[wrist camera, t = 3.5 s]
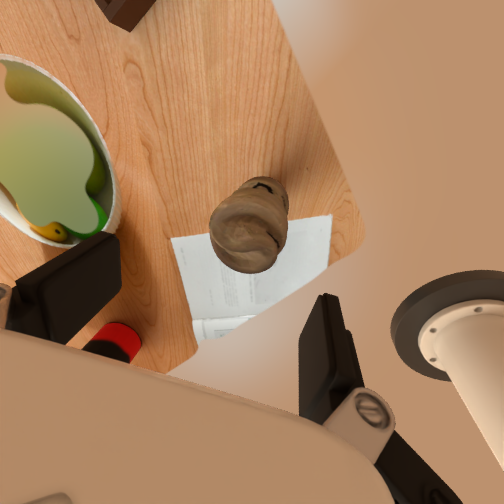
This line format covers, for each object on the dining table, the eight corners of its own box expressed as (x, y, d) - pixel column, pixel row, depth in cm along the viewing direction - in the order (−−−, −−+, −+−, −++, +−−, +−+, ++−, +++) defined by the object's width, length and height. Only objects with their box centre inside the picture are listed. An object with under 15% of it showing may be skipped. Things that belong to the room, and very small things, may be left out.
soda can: (102, 316, 44) (39, 377, 33) (142, 329, 44) (93, 395, 33) (103, 344, 48) (48, 407, 37) (141, 356, 47) (96, 423, 37)
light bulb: (240, 166, 28) (188, 208, 15) (290, 159, 27) (280, 197, 14) (249, 214, 30) (210, 286, 17) (294, 210, 29) (289, 283, 16)
